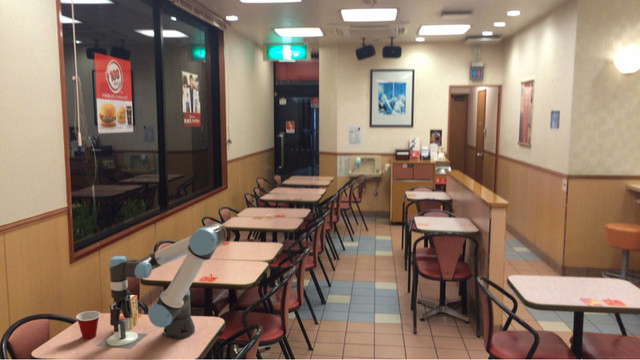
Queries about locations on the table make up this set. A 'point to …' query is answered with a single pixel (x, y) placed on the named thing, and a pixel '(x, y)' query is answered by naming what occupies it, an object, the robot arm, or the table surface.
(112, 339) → the lid
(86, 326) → the plastic cup
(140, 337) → the mat
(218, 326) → the table surface
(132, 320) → the candy box
